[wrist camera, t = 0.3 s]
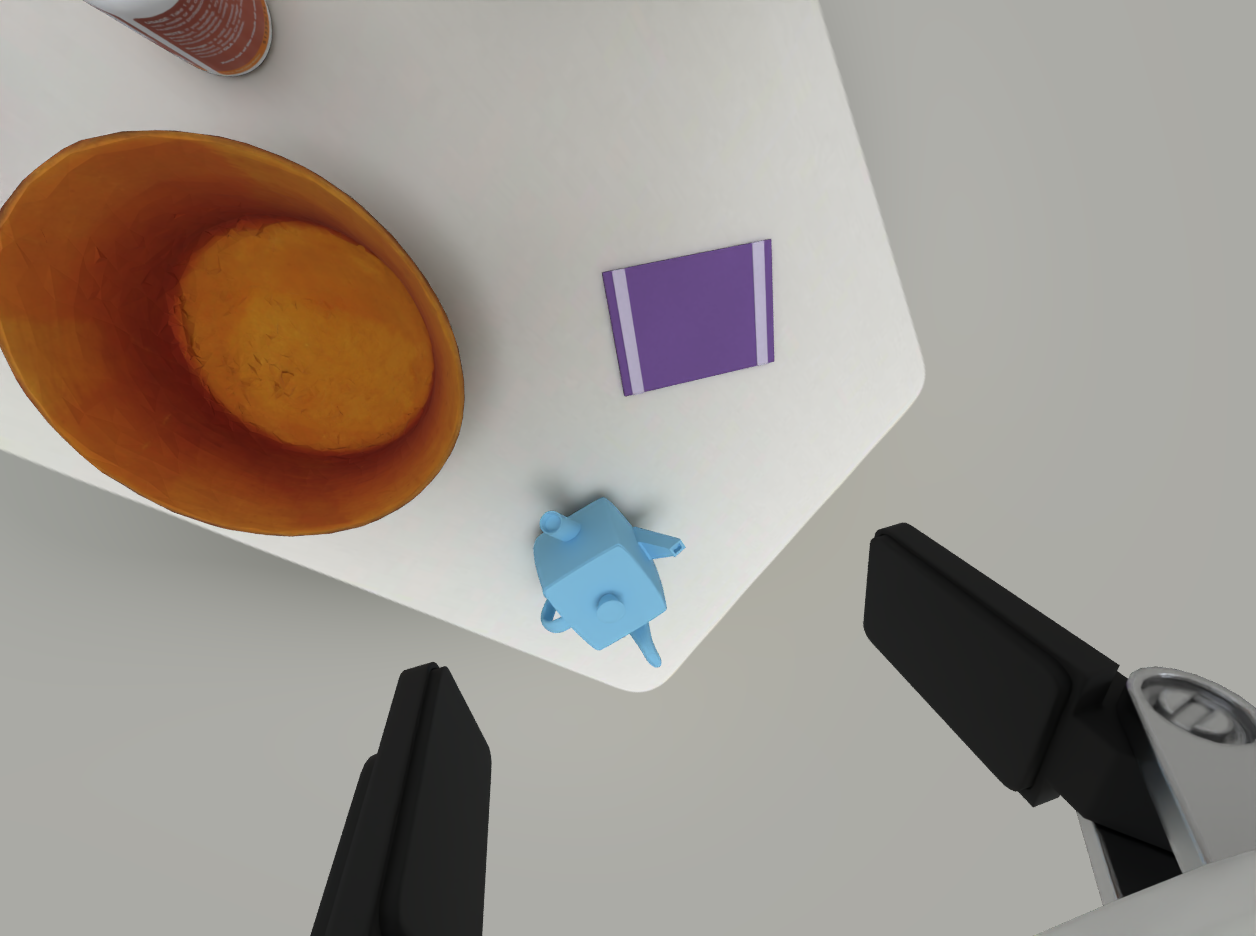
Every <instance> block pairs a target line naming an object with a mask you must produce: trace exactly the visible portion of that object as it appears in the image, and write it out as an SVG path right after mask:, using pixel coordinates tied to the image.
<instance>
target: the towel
mask: <svg viewBox="0 0 1256 936" xmlns="http://www.w3.org/2000/svg"><path fill="white" fill-rule="evenodd" d="M602 275H603V281H604V286H605V292H606V297H607V303H608V308H609V314H610V319H611V325H612V330H613V336H614V341H615V347H616V352H617V358H618V363H619V369H620V374H621V380H622V385H623V391H624V395H625V396H629V395H636V394H640V393H644V392H646V391H651V390H655V389H659V388H663V387H668V386H672V385H676V384H680V383H685V382H689V381H693V380H697V379H702V378H706V377H710V376H715V375H719V374H723V373H727V372H732V371H736V370H740V369H744V368H749V367H753V366H759V365H763V364H768V363H770V362H774V331H773V290H772V250H771V239H768V240H763V241H758V242H753V243H748V244H743V245H738V246H733V247H728V248H723V249H718V250H713V251H708V252H703V253H698V254H693V255H688V256H683V257H678V258H672V259H667V260H662V261H657V262H652V263H647V264H642V265H637V266H632V267H627V268H622V269H617V270H612V271H607V272H603V273H602Z"/></svg>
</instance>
